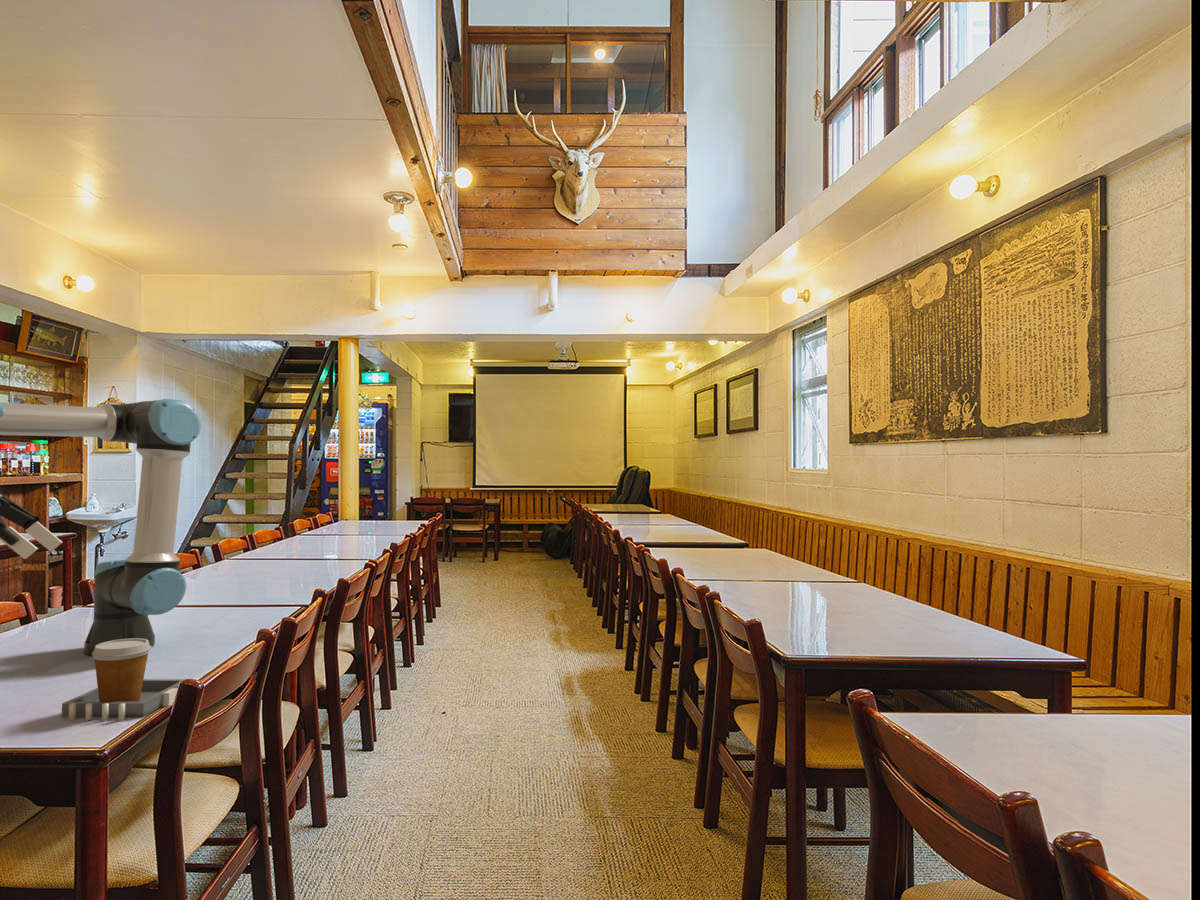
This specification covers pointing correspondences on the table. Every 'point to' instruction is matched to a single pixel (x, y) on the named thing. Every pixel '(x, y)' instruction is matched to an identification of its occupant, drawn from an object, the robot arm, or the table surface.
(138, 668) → the disposable coffee cup
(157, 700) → the grey tray
